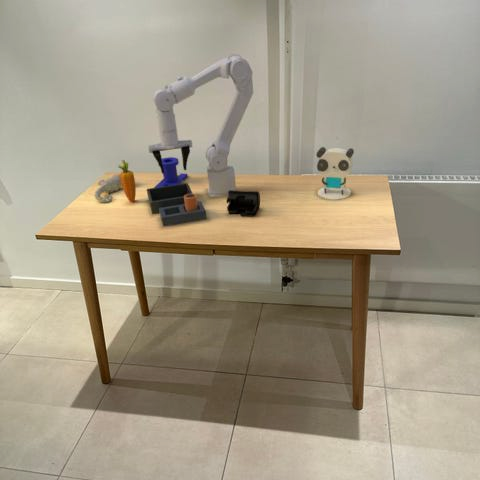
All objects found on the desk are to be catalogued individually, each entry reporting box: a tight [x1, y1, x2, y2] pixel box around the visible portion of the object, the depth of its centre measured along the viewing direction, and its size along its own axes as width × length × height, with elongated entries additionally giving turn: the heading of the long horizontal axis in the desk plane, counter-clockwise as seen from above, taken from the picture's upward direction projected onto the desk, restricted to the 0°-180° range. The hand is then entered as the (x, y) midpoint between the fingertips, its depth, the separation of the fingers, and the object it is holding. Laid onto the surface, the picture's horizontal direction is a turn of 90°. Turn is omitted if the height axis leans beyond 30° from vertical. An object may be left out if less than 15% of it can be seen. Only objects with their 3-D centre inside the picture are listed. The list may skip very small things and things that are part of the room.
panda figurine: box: [315, 146, 355, 201], centre depth 158 cm, size 12×11×15 cm
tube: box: [184, 193, 198, 212], centre depth 151 cm, size 4×4×8 cm
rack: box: [158, 200, 207, 227], centre depth 152 cm, size 8×14×4 cm, turn 105°
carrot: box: [117, 159, 137, 203], centre depth 162 cm, size 5×5×15 cm
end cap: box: [226, 189, 261, 218], centre depth 153 cm, size 10×7×7 cm
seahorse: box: [94, 173, 136, 203], centre depth 174 cm, size 5×12×20 cm
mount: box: [153, 156, 188, 188], centre depth 176 cm, size 15×8×9 cm, turn 164°
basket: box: [146, 182, 194, 215], centre depth 162 cm, size 15×13×5 cm
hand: (174, 170), depth 161 cm, fingers open, 7 cm apart
